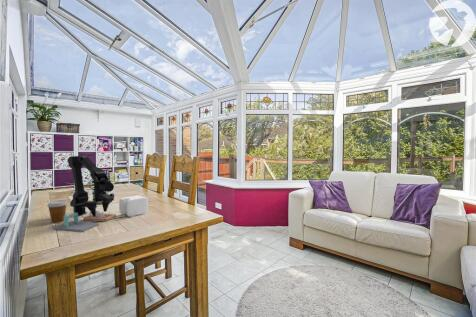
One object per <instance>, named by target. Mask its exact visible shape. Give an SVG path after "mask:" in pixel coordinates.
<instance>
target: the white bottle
mask: <svg viewBox="0 0 476 317" xmlns="http://www.w3.org/2000/svg"><path fill="white" fill-rule="evenodd" d="M108 214H109V213H108V212H107V211H106V212H104V210H103V211H100V210H96V216H95V217H97V218H106V217H107V216H108ZM89 215H90V217H94V216H93V215H92V213H91V212H90V211H89Z"/></svg>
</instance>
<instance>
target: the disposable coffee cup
mask: <svg viewBox="0 0 476 317" xmlns="http://www.w3.org/2000/svg"><path fill="white" fill-rule="evenodd" d="M67 204H68V202H67V200H55V201H50V202H48V204H47V207H48V212H49V215H50V220H51V223H53V224H58V223H62V222H64V216H66V209H67Z"/></svg>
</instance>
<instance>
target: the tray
mask: <svg viewBox="0 0 476 317" xmlns="http://www.w3.org/2000/svg"><path fill="white" fill-rule="evenodd" d="M116 218H117V214H116V213H115V214H112V213H108V216H107V217H106V218H97V217H90V214H88V215H86V216H83V221H92V220H95V221H94V222H106V223H107V222H108V221H110V219H111V220H113V219H116Z"/></svg>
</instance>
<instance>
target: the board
mask: <svg viewBox="0 0 476 317" xmlns="http://www.w3.org/2000/svg"><path fill="white" fill-rule="evenodd" d="M98 226H100V223H99V222H88V221H87V222H86V221H78V223H74V220H69V226H68V227H64V223H61V224H59V225H56V226H53V227H52V229H53V230H59V231H71V232H82V233H83V232H86V231H88V230H91V229H93V228H95V227H98Z"/></svg>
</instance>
